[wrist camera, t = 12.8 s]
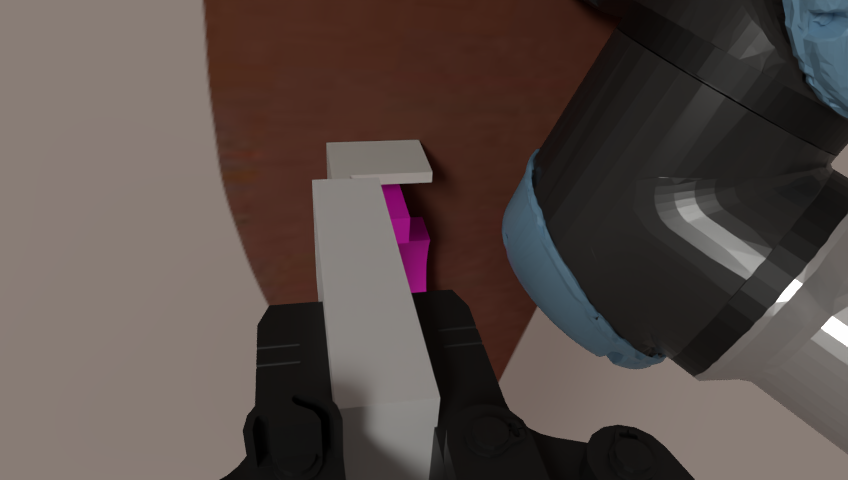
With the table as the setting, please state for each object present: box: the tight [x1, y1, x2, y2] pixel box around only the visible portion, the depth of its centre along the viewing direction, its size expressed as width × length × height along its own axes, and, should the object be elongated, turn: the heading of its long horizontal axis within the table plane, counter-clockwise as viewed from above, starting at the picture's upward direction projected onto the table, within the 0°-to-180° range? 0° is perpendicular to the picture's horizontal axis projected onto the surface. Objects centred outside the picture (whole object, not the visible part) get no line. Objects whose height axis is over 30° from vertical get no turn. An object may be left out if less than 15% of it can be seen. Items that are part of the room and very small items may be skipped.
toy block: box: [381, 184, 430, 293], centre depth 49 cm, size 15×6×8 cm, turn 176°
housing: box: [326, 140, 432, 185], centre depth 47 cm, size 7×18×11 cm, turn 176°
